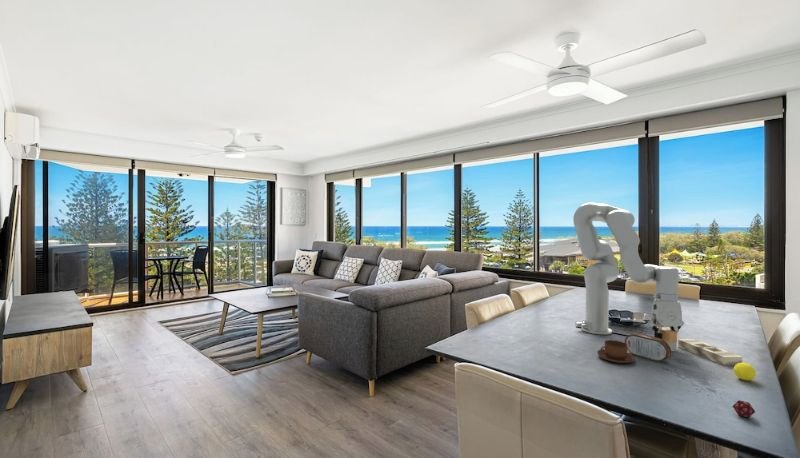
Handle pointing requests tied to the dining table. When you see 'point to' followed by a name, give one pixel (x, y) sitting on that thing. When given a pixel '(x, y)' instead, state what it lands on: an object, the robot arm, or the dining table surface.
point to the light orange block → (669, 337)
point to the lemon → (744, 371)
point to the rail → (709, 352)
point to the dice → (743, 409)
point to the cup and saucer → (615, 352)
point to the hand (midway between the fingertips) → (665, 341)
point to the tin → (648, 347)
